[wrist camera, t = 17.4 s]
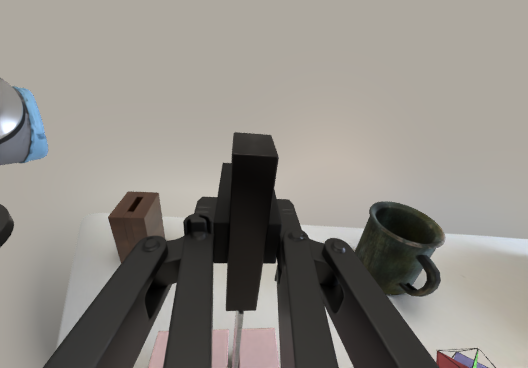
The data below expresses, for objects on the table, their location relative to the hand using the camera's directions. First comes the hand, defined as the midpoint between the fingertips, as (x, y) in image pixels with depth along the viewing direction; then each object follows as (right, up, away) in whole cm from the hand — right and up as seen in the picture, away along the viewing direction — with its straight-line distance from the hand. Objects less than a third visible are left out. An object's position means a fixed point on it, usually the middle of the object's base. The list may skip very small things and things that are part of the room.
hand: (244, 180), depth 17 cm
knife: (-1, -18, +4) cm, 19 cm away
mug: (+23, -17, +25) cm, 38 cm away
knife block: (-20, -12, +25) cm, 34 cm away
